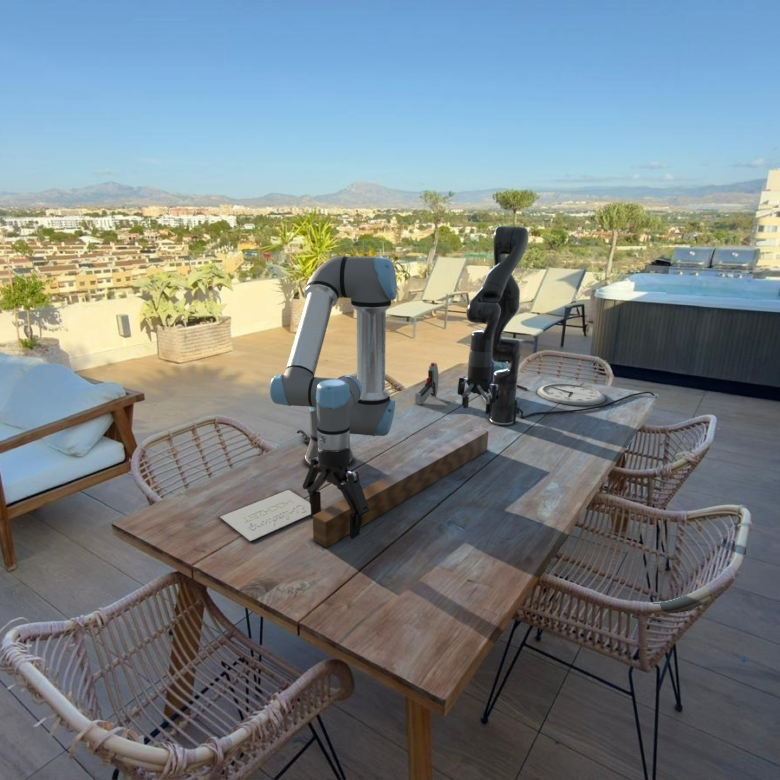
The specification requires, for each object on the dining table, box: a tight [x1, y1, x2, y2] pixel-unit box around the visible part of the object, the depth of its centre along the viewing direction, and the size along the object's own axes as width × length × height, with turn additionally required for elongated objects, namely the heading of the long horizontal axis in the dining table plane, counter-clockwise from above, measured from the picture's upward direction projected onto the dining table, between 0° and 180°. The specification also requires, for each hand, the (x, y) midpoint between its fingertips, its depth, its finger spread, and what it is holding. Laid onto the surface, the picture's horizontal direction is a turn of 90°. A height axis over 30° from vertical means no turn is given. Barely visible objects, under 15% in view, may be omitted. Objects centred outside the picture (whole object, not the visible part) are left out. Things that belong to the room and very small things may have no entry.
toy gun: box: [414, 362, 439, 406], centre depth 228 cm, size 2×16×15 cm
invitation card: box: [219, 489, 311, 542], centre depth 138 cm, size 21×1×15 cm
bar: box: [312, 427, 489, 548], centre depth 152 cm, size 76×4×7 cm, turn 140°
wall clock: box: [537, 383, 606, 407], centre depth 241 cm, size 30×2×30 cm
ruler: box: [517, 384, 528, 391], centre depth 253 cm, size 15×1×1 cm, turn 34°
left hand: (334, 526), depth 128 cm, fingers open, 13 cm apart
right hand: (476, 410), depth 173 cm, fingers open, 8 cm apart
